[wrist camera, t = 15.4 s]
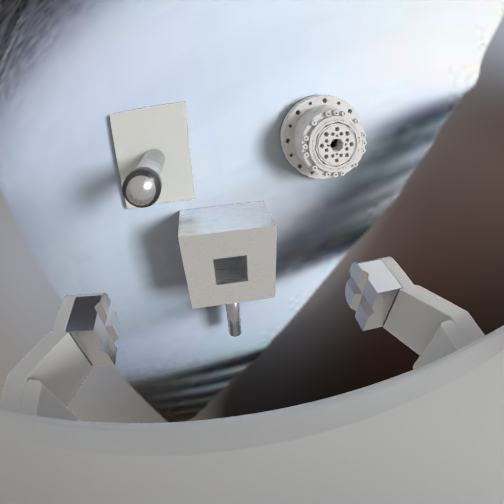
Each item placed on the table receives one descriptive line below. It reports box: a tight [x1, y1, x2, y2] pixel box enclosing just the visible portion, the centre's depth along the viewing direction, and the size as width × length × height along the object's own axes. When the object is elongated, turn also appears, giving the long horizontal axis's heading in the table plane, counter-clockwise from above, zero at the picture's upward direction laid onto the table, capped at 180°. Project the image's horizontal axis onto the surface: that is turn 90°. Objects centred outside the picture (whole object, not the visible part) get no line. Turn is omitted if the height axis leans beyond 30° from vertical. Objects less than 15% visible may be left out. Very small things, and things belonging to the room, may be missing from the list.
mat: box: [110, 101, 195, 209], centre depth 29 cm, size 11×8×1 cm
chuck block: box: [178, 201, 277, 336], centre depth 37 cm, size 19×10×6 cm, turn 2°
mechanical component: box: [280, 95, 367, 179], centre depth 30 cm, size 10×4×10 cm
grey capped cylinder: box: [122, 149, 165, 208], centre depth 25 cm, size 3×3×9 cm
